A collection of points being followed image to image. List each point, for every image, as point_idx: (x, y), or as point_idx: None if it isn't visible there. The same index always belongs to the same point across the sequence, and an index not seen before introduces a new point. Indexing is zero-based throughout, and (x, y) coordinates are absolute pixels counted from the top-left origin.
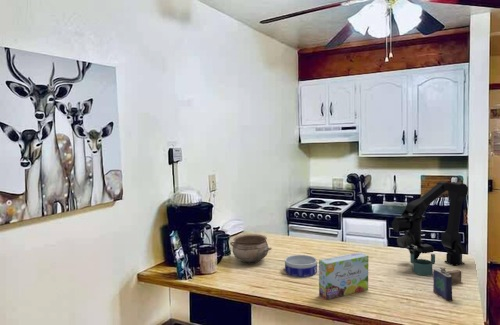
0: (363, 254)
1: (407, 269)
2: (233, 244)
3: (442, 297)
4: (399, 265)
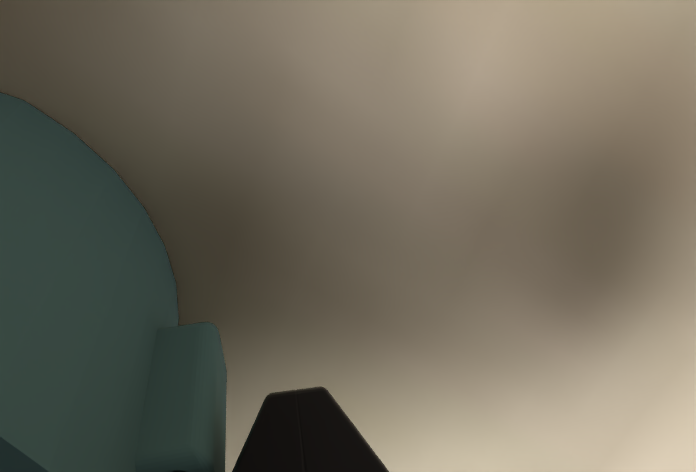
0: None
1: (261, 41)
2: None
3: None
4: (657, 22)
